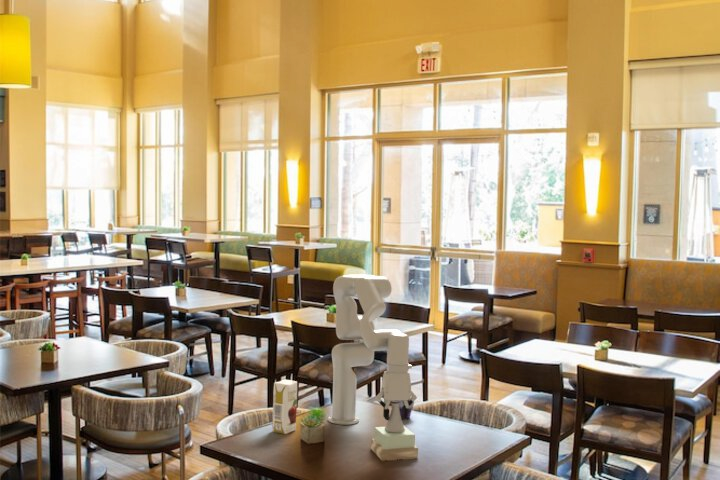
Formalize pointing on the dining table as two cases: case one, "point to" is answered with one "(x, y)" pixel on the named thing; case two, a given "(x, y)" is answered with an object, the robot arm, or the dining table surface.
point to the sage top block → (394, 438)
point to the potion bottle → (408, 409)
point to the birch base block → (393, 452)
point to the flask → (395, 419)
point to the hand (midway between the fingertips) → (395, 418)
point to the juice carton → (284, 406)
